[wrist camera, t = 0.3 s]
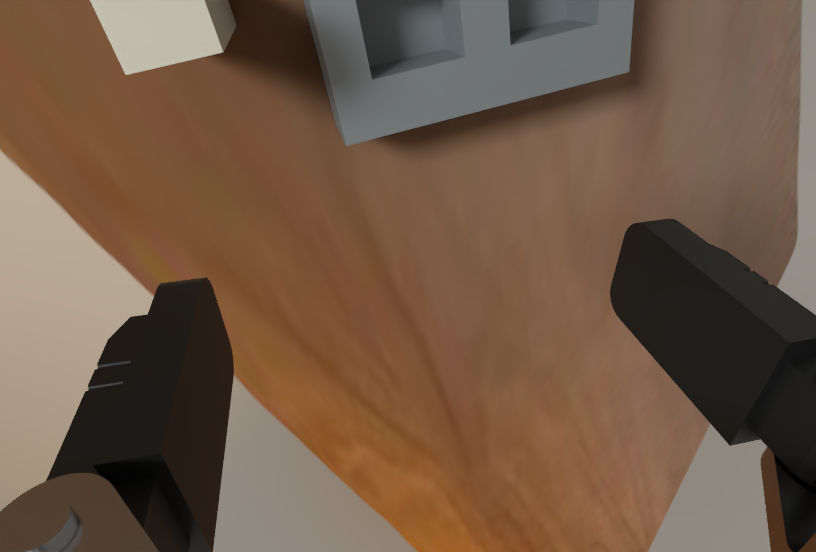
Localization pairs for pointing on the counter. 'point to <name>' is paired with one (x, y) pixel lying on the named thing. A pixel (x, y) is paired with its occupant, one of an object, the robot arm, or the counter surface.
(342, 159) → the counter surface
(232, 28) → the cream rectangular block
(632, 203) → the counter surface
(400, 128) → the grey two-slot holder
